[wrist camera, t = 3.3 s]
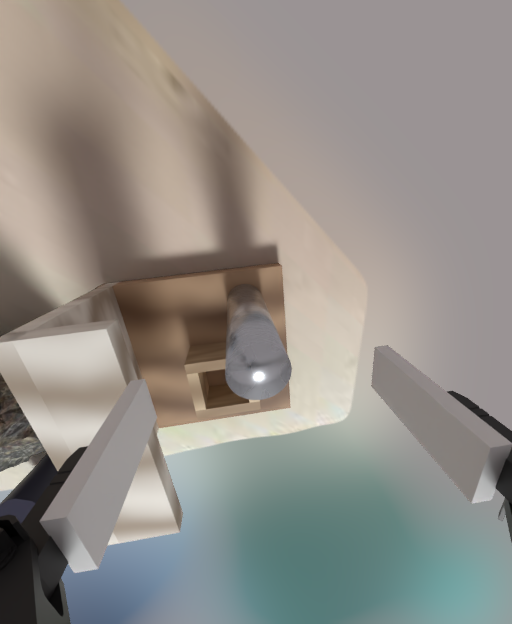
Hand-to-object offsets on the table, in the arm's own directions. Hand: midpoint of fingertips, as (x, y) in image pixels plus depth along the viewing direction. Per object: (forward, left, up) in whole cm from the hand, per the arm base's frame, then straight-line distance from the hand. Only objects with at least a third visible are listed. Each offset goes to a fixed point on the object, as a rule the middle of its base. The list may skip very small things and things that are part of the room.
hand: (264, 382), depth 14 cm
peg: (0, 0, -15) cm, 15 cm away
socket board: (+6, -6, -17) cm, 19 cm away
